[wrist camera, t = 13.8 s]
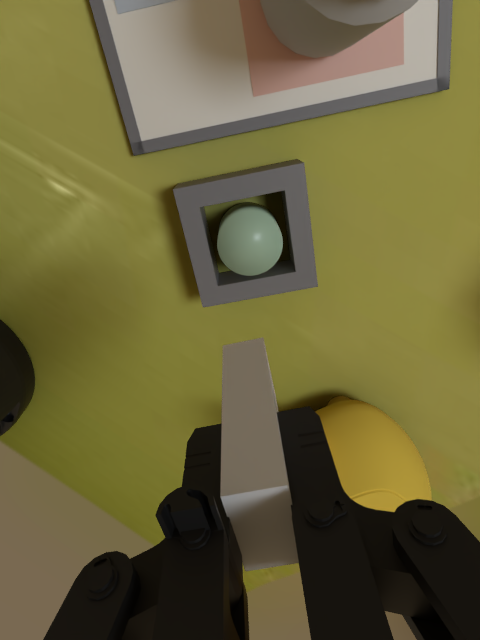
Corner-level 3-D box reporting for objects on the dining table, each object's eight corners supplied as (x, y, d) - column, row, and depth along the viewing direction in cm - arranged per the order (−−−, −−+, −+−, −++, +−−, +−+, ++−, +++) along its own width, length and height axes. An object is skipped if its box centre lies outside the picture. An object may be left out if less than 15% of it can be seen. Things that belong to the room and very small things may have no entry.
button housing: (205, 292, 34) (202, 307, 31) (178, 183, 30) (172, 189, 27) (310, 273, 33) (317, 286, 31) (297, 159, 29) (303, 162, 27)
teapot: (328, 512, 46) (359, 639, 35) (208, 411, 40) (199, 529, 28) (432, 451, 42) (506, 572, 31) (319, 328, 36) (360, 425, 24)
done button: (225, 265, 32) (224, 280, 29) (212, 208, 30) (210, 218, 27) (281, 255, 32) (287, 269, 29) (273, 196, 30) (277, 205, 27)
